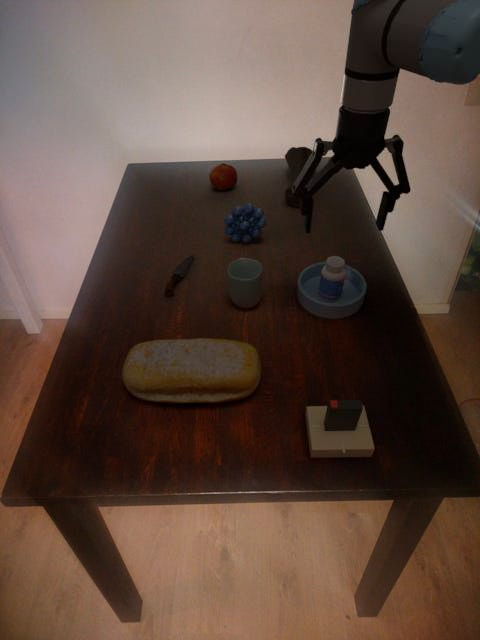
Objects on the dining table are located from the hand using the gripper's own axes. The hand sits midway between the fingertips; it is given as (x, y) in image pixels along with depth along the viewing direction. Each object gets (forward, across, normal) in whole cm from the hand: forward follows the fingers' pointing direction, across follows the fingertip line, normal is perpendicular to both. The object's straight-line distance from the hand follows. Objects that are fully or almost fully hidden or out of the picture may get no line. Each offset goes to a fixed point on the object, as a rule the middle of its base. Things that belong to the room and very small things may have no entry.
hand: (343, 228), depth 73 cm
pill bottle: (+21, -1, -4) cm, 21 cm away
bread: (+21, +30, +20) cm, 41 cm away
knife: (+22, +36, -13) cm, 44 cm away
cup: (+21, +19, -3) cm, 29 cm away
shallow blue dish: (+21, -1, -4) cm, 21 cm away
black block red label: (+18, +4, +32) cm, 37 cm away
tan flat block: (+21, +4, +32) cm, 38 cm away
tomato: (+22, +26, -60) cm, 68 cm away
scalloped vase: (+22, 0, -58) cm, 62 cm away
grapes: (+22, +19, -28) cm, 40 cm away
